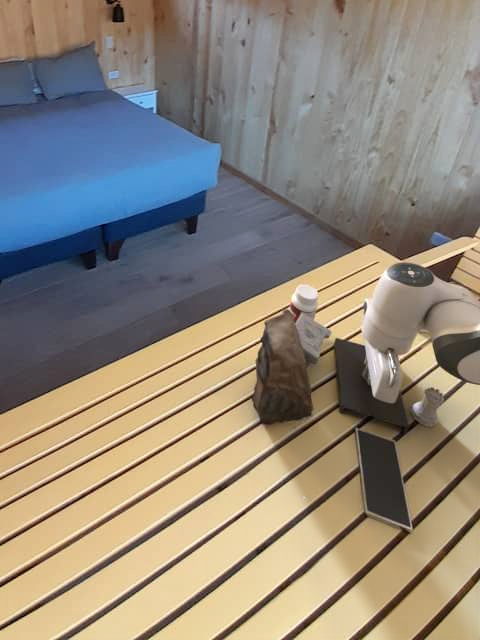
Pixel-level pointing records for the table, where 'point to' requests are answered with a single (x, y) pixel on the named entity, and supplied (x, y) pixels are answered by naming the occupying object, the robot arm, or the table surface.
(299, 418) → the brown rock
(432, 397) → the rook chess piece
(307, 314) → the pill bottle
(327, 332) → the incense holder
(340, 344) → the lid
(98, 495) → the table surface
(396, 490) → the phone
